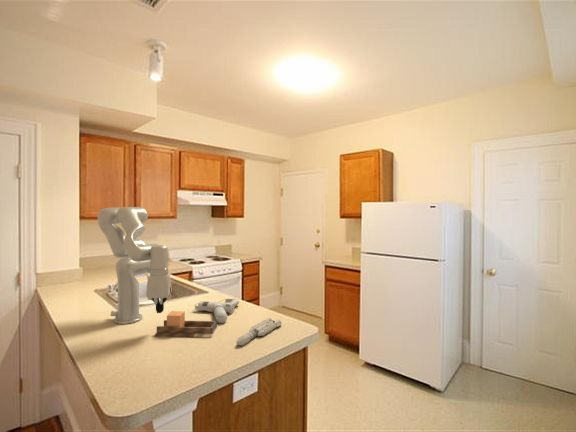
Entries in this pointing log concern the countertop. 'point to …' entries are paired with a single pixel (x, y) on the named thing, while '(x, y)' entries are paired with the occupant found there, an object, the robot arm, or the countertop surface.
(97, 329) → the countertop surface
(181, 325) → the block
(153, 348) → the countertop surface
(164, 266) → the robot arm
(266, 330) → the rocket model
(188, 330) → the chute
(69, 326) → the countertop surface
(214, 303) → the gun
